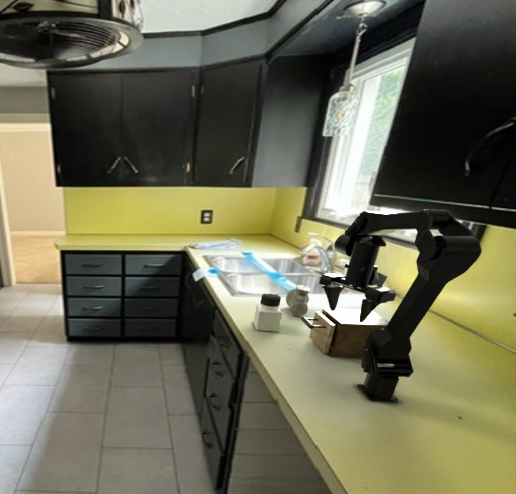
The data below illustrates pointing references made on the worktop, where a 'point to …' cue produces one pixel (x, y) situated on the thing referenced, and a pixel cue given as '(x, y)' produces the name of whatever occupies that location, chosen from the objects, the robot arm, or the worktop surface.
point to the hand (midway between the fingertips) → (346, 316)
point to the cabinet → (352, 331)
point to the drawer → (322, 330)
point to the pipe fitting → (298, 300)
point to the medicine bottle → (268, 313)
